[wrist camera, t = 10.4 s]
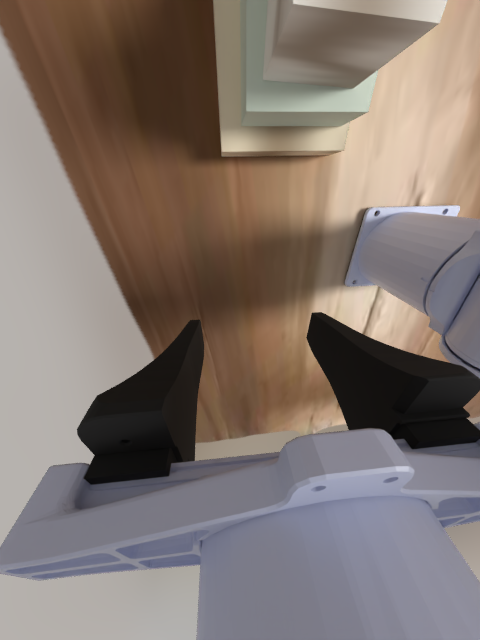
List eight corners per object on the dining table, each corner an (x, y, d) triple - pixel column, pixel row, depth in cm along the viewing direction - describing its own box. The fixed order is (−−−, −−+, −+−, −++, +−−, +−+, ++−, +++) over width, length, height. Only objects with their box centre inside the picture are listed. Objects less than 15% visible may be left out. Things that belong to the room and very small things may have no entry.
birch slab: (358, -35, 12) (395, -94, 10) (325, 156, 17) (344, 150, 14) (210, -42, 11) (207, -107, 9) (221, 157, 16) (221, 151, 14)
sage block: (378, -67, 10) (432, -153, 7) (341, 126, 14) (368, 111, 11) (239, -75, 9) (246, -171, 7) (241, 126, 13) (246, 111, 11)
